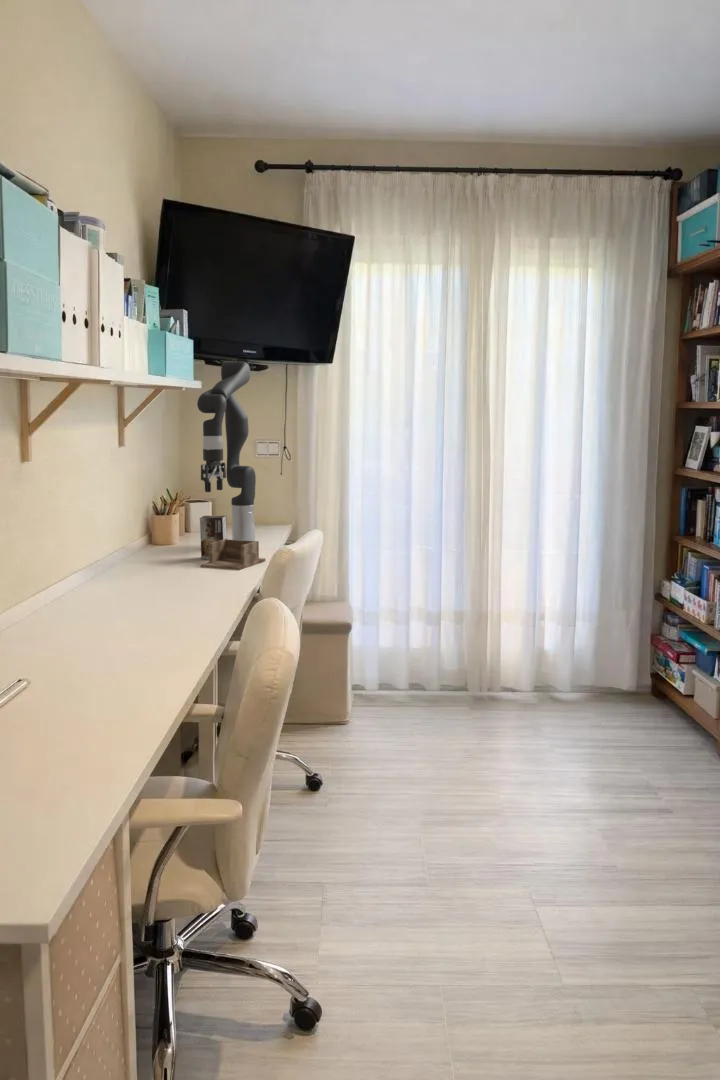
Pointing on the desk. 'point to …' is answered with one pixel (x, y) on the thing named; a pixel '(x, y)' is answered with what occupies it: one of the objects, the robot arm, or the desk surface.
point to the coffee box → (211, 532)
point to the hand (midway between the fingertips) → (213, 491)
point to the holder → (233, 554)
